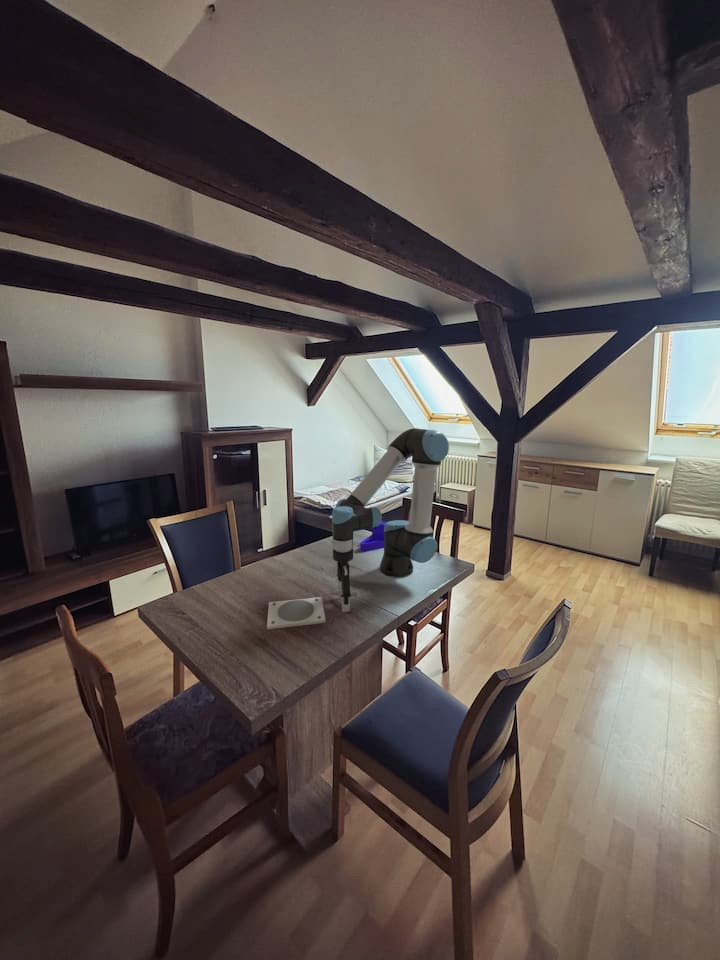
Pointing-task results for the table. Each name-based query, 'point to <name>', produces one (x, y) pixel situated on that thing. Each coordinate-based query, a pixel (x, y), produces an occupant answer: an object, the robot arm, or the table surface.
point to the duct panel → (295, 613)
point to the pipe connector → (339, 592)
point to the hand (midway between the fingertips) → (343, 603)
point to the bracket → (374, 539)
